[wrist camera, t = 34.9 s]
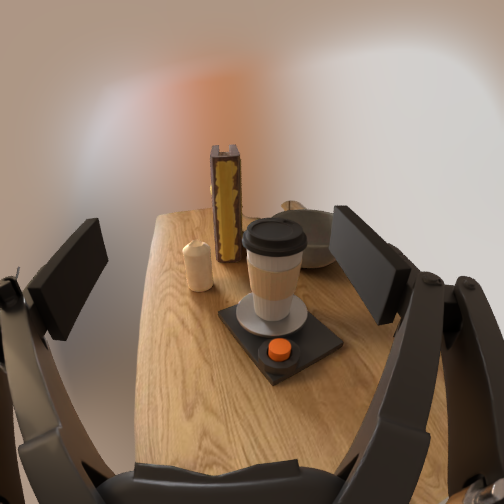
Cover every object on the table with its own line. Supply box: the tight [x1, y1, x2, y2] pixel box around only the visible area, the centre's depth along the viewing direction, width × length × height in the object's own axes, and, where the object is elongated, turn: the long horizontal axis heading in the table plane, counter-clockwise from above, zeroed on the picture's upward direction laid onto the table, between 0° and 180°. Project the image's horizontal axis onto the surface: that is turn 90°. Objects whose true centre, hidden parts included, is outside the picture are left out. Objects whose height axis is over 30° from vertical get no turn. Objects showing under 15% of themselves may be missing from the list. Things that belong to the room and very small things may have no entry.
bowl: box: [272, 209, 336, 268], centre depth 66 cm, size 20×20×10 cm
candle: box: [183, 239, 213, 292], centre depth 57 cm, size 6×6×10 cm
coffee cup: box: [242, 218, 308, 321], centre depth 43 cm, size 9×9×15 cm
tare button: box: [268, 338, 291, 362], centre depth 39 cm, size 3×3×2 cm
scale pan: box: [236, 293, 308, 338], centre depth 47 cm, size 12×12×1 cm
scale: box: [218, 304, 343, 385], centre depth 46 cm, size 18×14×3 cm
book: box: [210, 145, 242, 263], centre depth 71 cm, size 22×8×25 cm, turn 6°
